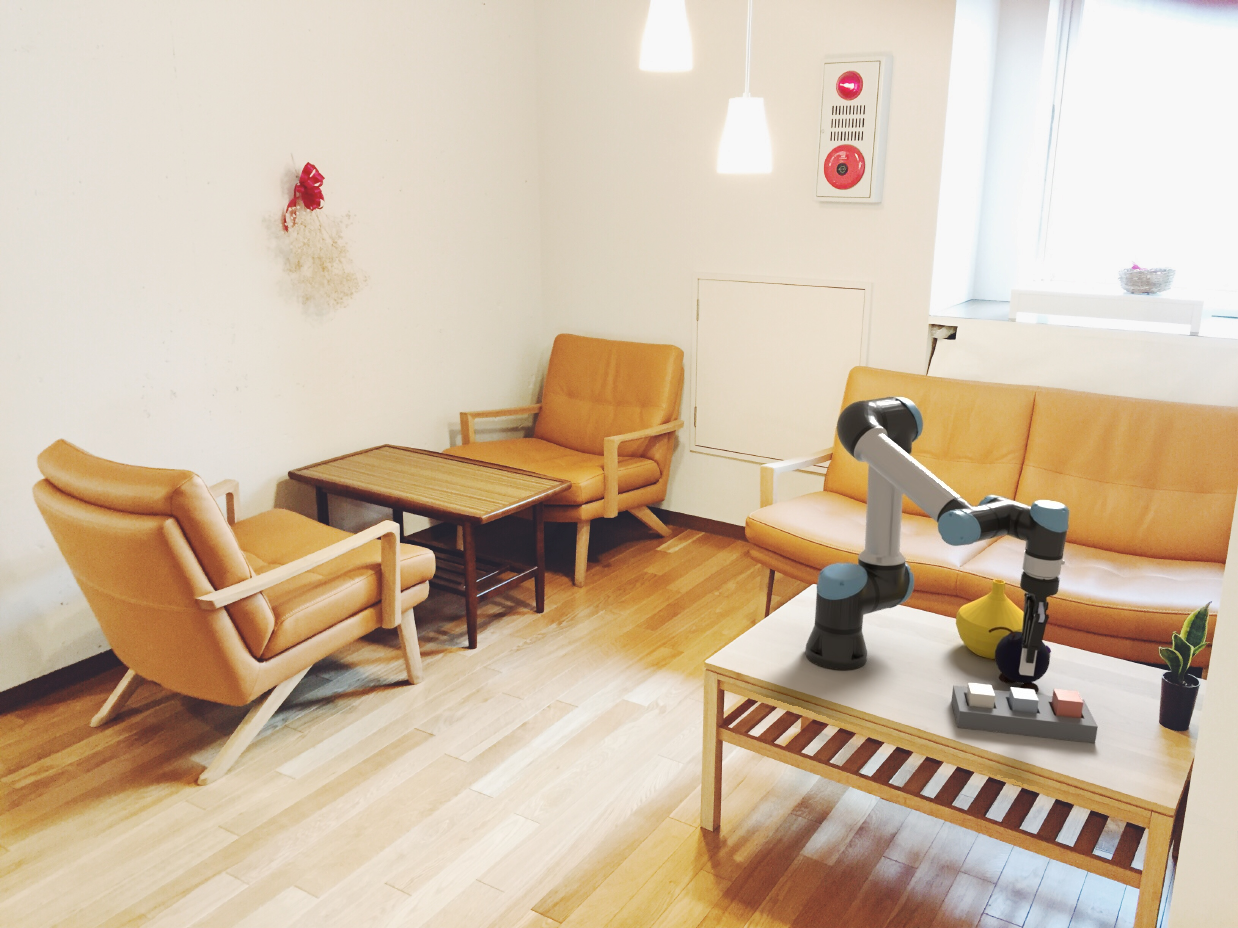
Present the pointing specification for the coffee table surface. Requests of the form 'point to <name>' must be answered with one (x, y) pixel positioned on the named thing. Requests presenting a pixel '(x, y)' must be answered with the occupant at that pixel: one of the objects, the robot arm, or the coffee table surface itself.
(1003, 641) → the toy
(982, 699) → the key ivory
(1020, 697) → the key slate
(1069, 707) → the key brick
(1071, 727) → the console
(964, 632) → the vase
